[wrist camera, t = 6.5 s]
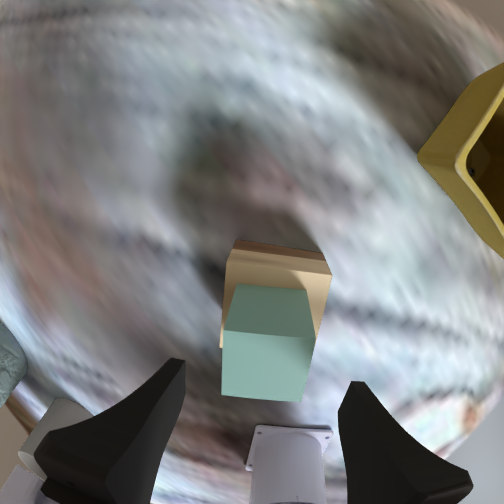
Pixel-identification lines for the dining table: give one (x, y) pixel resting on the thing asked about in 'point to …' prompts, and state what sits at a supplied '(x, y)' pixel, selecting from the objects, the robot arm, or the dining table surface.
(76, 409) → the cup
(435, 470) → the robot arm
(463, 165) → the flower pot
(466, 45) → the dining table surface
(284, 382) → the teal block
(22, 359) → the grey-green embossed container
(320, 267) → the oak slab
